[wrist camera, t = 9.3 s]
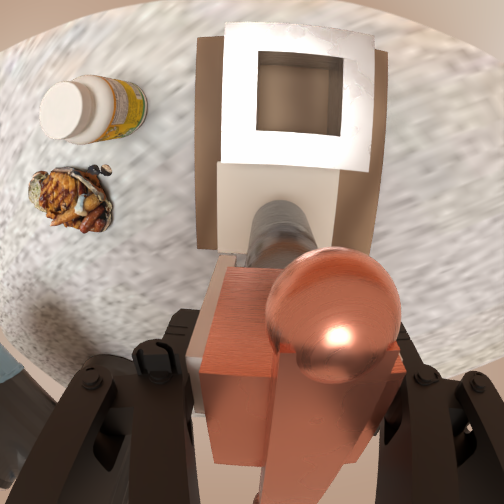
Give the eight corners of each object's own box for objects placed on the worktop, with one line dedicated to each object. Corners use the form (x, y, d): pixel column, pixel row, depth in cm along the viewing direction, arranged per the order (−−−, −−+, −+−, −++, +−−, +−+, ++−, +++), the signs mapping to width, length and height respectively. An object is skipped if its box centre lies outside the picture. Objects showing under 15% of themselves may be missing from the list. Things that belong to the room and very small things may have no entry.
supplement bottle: (152, 82, 22) (97, 67, 14) (144, 139, 25) (87, 151, 16) (101, 83, 22) (37, 75, 13) (95, 136, 24) (30, 149, 16)
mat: (218, 249, 27) (217, 252, 27) (218, 161, 24) (217, 162, 24) (328, 254, 27) (329, 257, 27) (338, 167, 24) (339, 168, 23)
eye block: (230, 155, 24) (221, 163, 19) (233, 41, 20) (225, 22, 15) (350, 162, 24) (368, 172, 19) (354, 50, 20) (374, 35, 15)
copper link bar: (248, 148, 19) (140, 282, 3) (317, 151, 19) (512, 289, 3) (246, 292, 24) (215, 528, 7) (305, 294, 24) (337, 528, 7)
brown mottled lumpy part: (30, 168, 26) (11, 174, 23) (113, 162, 26) (95, 168, 23) (37, 225, 29) (19, 236, 26) (118, 229, 29) (102, 242, 25)
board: (199, 244, 28) (197, 248, 28) (199, 40, 21) (197, 37, 20) (365, 252, 28) (368, 256, 27) (383, 54, 20) (387, 52, 19)
